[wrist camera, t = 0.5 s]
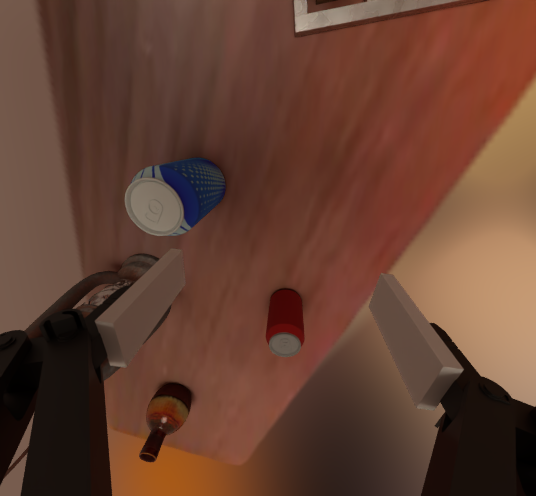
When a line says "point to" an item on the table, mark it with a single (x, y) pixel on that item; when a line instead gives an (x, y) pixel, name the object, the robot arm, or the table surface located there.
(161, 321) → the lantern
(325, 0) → the walnut peg
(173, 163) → the beer can
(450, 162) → the table surface
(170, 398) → the vase
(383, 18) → the white yellow rectangular frame
